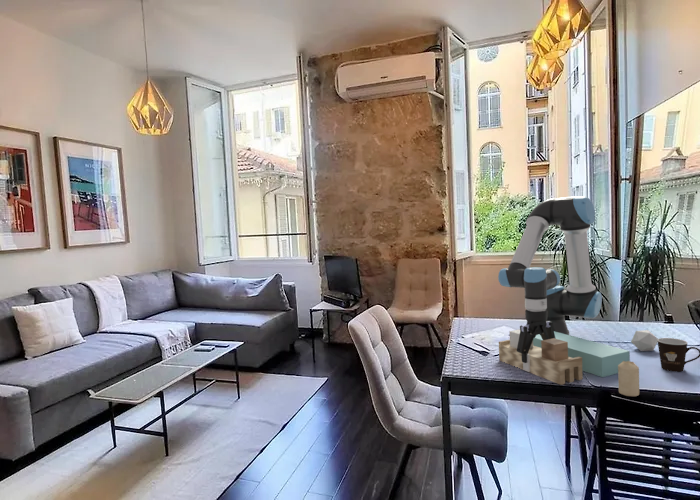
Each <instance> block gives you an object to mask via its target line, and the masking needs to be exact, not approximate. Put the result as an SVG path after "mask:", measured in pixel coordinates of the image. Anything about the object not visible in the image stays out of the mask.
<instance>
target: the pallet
mask: <svg viewBox="0 0 700 500" xmlns="http://www.w3.org/2000/svg"><path fill="white" fill-rule="evenodd" d="M524 351H525V350H524ZM528 354H530V372H529V373H530V374H533V375H535V376H537V377H540V378H542V379H545V380H547V381H550V382H552V383H555V384H558V385H560V386H562V385H565V384H566V382H567V383H574V382H575V380H577V381H582V380H583V379H584V378H583V371H582V357H575V358H571V357H568V359H565V360H561V361H556V362H555V361H552V360H549V359H546V358H543V357H542V349H541V348H540V347H536V346H533V348H530V349H529V352H528ZM498 357H499V358H498V361H499V360H500V361H499V362H502V363H504V362H505V363H504V364H508V365H509V364H510V365H509V366H512V367H514V366H515V368H517V367H518V368H517V369H519V368H520V369H519V370H522V371H524V370H523V362H522V354H521V353H519V352H517V349H516V348H514V347H511V346H510V339H505V340H501V341H498Z"/></svg>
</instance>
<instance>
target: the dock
mask: <svg viewBox="0 0 700 500" xmlns="http://www.w3.org/2000/svg"><path fill="white" fill-rule="evenodd" d="M554 334H555V338H556V339H559V340H562V341H566V342H568V357H571V358H575V357H582V372H586V373H588V374H592V375H595V376H598V377H601V378H605V377H610V376H613V375H617V374H618V365H619V364H620V363H622V362H623V361H631V360H630V358H631V357H630V356H631V355H630V353H631V352H630V350H628V349H623V348H621V347H615V346H612V345H608V344H605V343H600V342H596V341H593V340H589V339H585V338H582V337H578V336H575V335H570V334H569V335H567V334H563V333H559V332H555V331H554ZM542 340H543V339H542V337H541V336H540V334H538V335H536V337H535V338H534V339H533V346H536V347H540V348H541V341H542Z"/></svg>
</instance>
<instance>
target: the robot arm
mask: <svg viewBox="0 0 700 500" xmlns="http://www.w3.org/2000/svg"><path fill="white" fill-rule="evenodd" d="M595 215H596V212H595V207H594V205H593V202H592V200H591V198H589V197H587V196H578V195H577V196H566V197H558V198H557V197H556V198H555V197H554V198H549V199H546V200H543V201H542V202H540V203H538V205H537V206H535V207H534V208H533V209H532V211H531V212H530V213H529V214H528V217H527V218H526V221H525V224H526V227H525V229H524V231H523V234H522V236H521V238H520V241H519V242H518V245H517V247H516V249H515V252H514V254H513V256H512V259H511V261H510V263H509V266H508V268H507V267H504V268H501V269H500V270H499V272H498V277H497V279H498V282H499V284H500V285H501V286H502V287H506V288H520V289H524V308H525V311H524V314H525V315H524V319H525V320H526V325H522V324H521V325H520V326H519V329H520V336H519V341H518V346H517V352H519V353H521V354H522V362H523V370H522V371H524V372H528V373H530V354H528V352H529V349H530V347H531V344H532V341H533V339H534V338H535V337H536V335H538V334H540V336H541V337H542V339H543V340H547V339H552V338H555V334H554V331H555V332H559V333H563V334H567V335H570V331H569V330H570V329H568V325H567V322H566V319H565V316H567V317H568V316H569V317H578V318H584V319H586V318H587V319H594V318H596V317H598V315H599V313H600V310H601V308H602V301H603V296H602V292H600V291H597V288H596V286H595V285H594V284H593V282H592V276H591V264H590V263H591V262H590V253H589V252H590V251H589V241H588V240H589V239H588V230H589V229H590V228H591V225H592V224H593V223H595V219H596V216H595ZM550 226H559V229H560V230H559V231H561V232H563V233H564V241H565V250H566V252H565V253H566V260H567V261H566V262H567V270H568V271H567V273H568V282H569V285H567V286H566V287H565V286H563V285H560V282H561V275H560V273H559V272H558V271H557V270H555V269H553V268H552V269H551V268H544V267H539V266H533V267H531V265H532V262H533V259H534V258H535V255H536V253H537V250H538V248H539V245H540V243H541V241H542V238H543V236H544V233H545V232H546V231H548V230H549V227H550ZM530 333H531V334H530ZM555 339H556V338H555ZM524 350H525V351H524Z"/></svg>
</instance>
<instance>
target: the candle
mask: <svg viewBox="0 0 700 500" xmlns="http://www.w3.org/2000/svg"><path fill="white" fill-rule="evenodd" d="M617 374H618V375H617V376H618V377H617V378H618V383H617V384H618V393H619V394H621V395H623V396H626V397H637V396H639V395H640V367H639V366H638V365H637V364H636V363H635V362H634V361H631V360H630V361H623V362H622V363H620V364H619V365H618V373H617Z"/></svg>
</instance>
